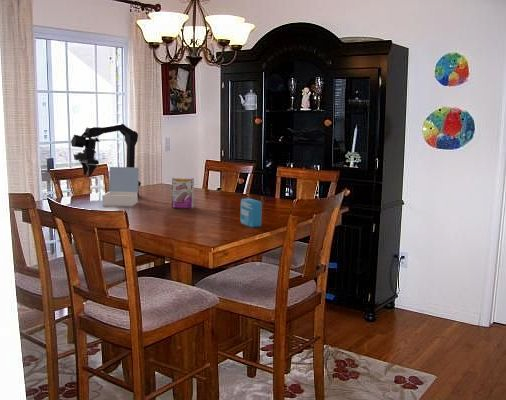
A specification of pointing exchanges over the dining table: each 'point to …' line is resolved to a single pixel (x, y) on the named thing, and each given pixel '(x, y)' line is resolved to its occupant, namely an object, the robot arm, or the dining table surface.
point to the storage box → (119, 199)
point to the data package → (251, 212)
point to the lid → (123, 179)
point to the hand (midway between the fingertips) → (86, 175)
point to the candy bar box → (182, 192)
